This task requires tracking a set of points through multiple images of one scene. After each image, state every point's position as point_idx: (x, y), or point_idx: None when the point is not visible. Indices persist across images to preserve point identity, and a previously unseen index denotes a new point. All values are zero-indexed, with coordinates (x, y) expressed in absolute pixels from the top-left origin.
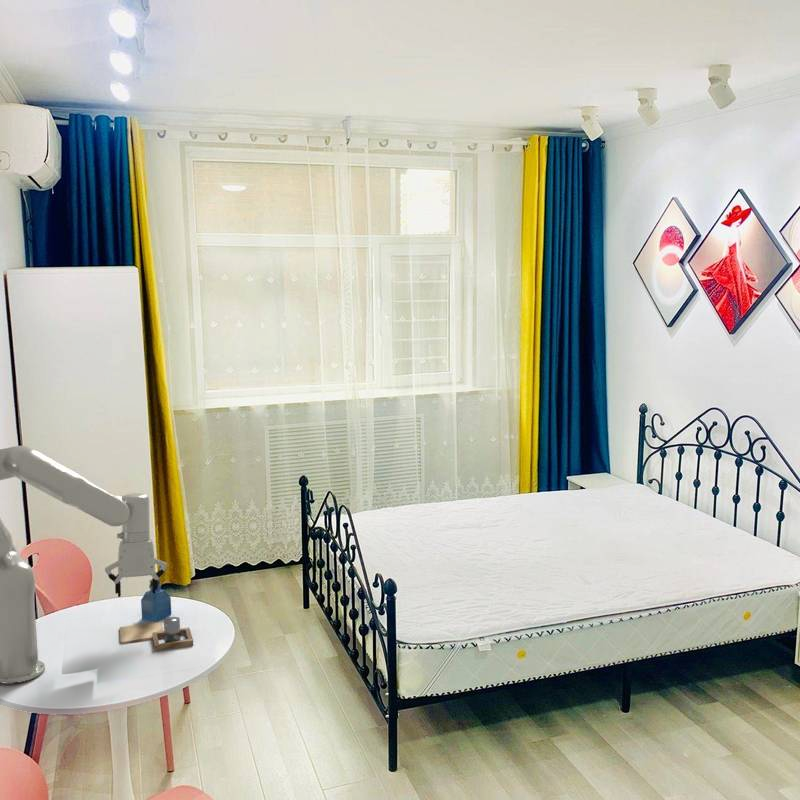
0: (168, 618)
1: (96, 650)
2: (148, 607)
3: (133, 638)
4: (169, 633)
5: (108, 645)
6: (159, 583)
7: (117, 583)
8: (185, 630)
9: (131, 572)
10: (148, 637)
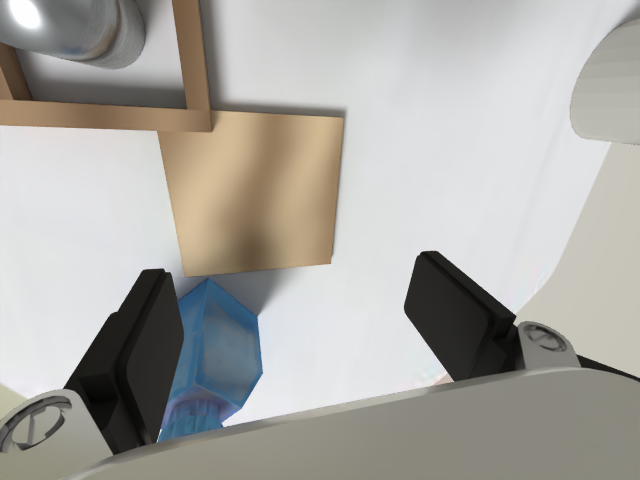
0: (52, 23)
1: (424, 92)
2: (232, 334)
3: (294, 135)
4: None
5: (381, 124)
6: None
7: (506, 332)
8: (18, 100)
9: (544, 466)
10: (230, 116)
